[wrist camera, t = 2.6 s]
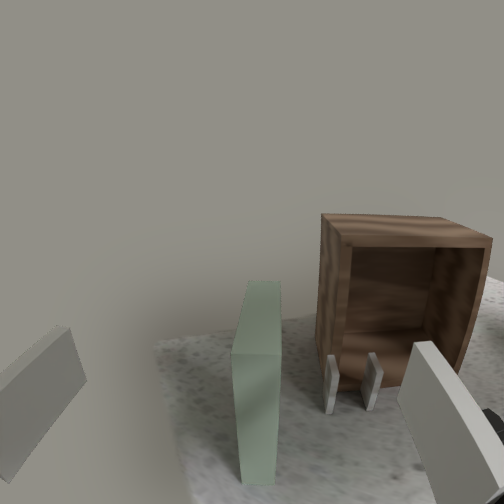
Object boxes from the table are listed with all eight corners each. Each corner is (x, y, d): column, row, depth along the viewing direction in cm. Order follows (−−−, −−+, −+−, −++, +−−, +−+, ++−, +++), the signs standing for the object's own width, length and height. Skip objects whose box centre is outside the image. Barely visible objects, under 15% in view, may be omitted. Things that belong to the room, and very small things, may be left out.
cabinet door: (252, 403, 33) (248, 280, 29) (277, 403, 33) (280, 281, 28) (242, 484, 22) (230, 353, 17) (274, 485, 21) (281, 354, 17)
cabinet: (312, 336, 48) (318, 213, 42) (422, 330, 46) (440, 217, 41) (325, 414, 30) (346, 245, 25) (468, 392, 29) (512, 246, 23)
